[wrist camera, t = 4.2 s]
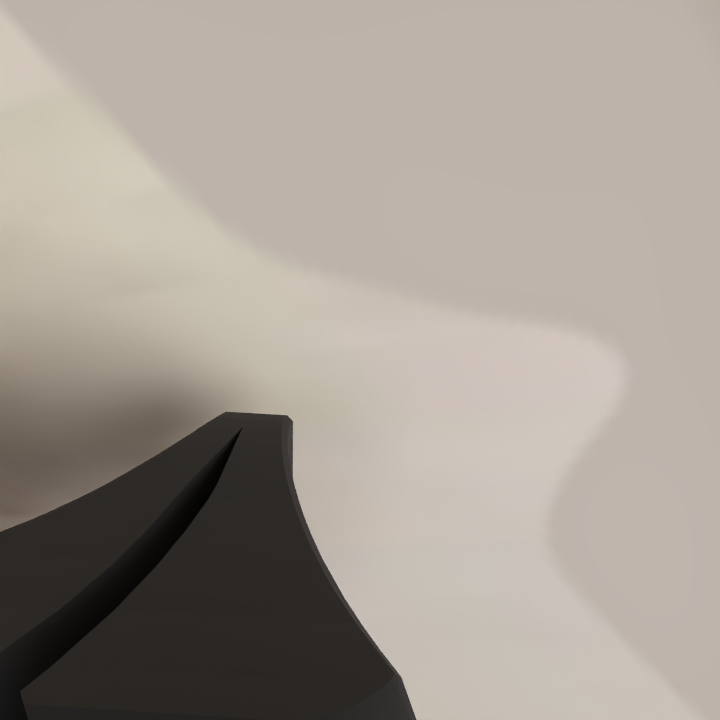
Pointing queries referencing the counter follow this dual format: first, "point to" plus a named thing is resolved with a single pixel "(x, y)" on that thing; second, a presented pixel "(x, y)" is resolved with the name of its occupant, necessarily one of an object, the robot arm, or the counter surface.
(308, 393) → the counter surface
